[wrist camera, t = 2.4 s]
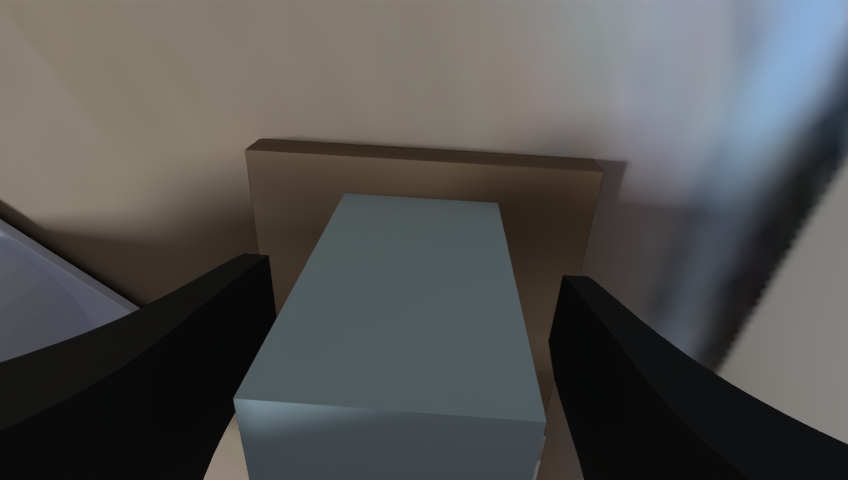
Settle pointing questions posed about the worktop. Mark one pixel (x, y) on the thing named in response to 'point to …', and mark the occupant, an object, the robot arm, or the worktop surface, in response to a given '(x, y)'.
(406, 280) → the peg
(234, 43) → the worktop surface
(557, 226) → the board
